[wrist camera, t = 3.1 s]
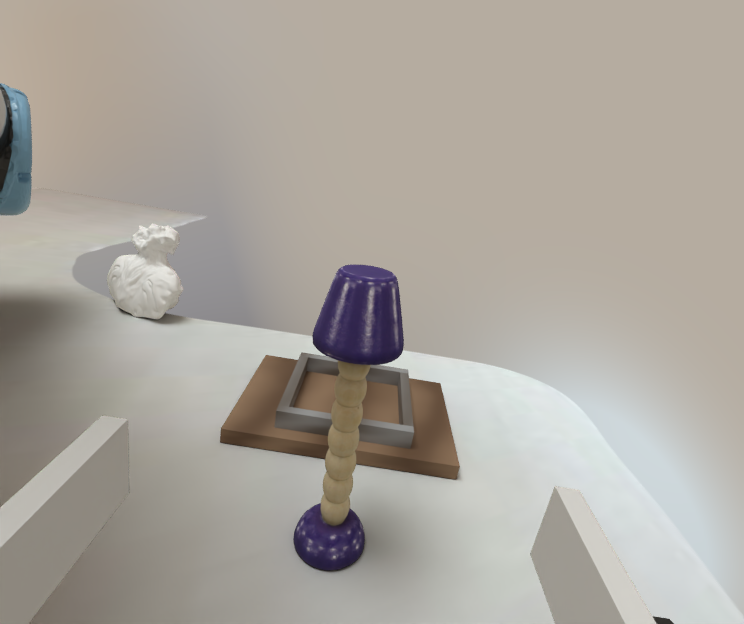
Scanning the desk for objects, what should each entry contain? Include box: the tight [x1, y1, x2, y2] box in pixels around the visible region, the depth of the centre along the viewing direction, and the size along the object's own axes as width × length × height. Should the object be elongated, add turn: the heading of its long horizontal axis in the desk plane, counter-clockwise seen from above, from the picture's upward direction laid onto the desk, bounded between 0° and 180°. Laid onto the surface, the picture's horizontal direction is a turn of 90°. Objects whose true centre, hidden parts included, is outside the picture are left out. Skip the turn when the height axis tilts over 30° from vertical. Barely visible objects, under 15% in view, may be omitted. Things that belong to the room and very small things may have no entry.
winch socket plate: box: [220, 353, 460, 479], centre depth 39 cm, size 18×13×3 cm
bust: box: [107, 223, 183, 319], centre depth 54 cm, size 12×8×11 cm
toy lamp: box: [294, 265, 404, 570], centre depth 24 cm, size 5×5×17 cm
